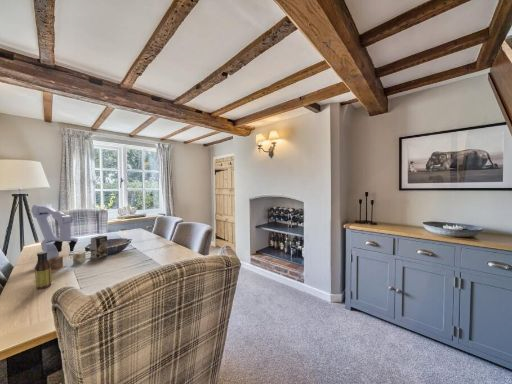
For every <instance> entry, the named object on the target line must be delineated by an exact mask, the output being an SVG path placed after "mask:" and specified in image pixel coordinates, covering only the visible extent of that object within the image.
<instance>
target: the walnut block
mask: <svg viewBox="0 0 512 384" xmlns="http://www.w3.org/2000/svg"><path fill="white" fill-rule="evenodd" d="M48 260H49V262H50V267H51V270H53V269H59V268H61V267H63V262H64V261H63V260H64V259H63V256H60V255H59V257H53V258H50V259H48Z"/></svg>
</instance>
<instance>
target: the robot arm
mask: <svg viewBox="0 0 512 384" xmlns="http://www.w3.org/2000/svg"><path fill="white" fill-rule="evenodd" d="M31 214H32V216H33V217H34V218H35V219H36V220H37V221H36V222H37V223H38V227H39V229H40V231H41V234H42V236H43V238H44V239H43V240H42V241H41V243H40V245H41V251H42V252H45V251H46V252H47V260H48V259H50V258H53V257H60V252H62V251H63V249H62V247H63V242H68V245H69V252H70V253H72V252H74V250H75V246H76V244H77V242H78V240H79V238H78V237H77V238H76V237H71V236H72V232H71V231H72V230H71V227H72V224H71V223H73V220H74V219H73V216H72V215H71V214H65V213H64V212H63V211H61V210H56V209H55V208H54V207H53V205H52V204H51V203H46V204H33V205H32V207H31ZM50 215H51V217H52V218H53V219H55V220H56V221H57V223H58V227H59V237H57V236H54V233H53V230H52V227H51V226H50V223H49V221H48V217H50ZM48 261H49V260H48Z"/></svg>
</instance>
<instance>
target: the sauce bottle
mask: <svg viewBox="0 0 512 384" xmlns="http://www.w3.org/2000/svg"><path fill="white" fill-rule="evenodd" d="M36 256H37V262H36V265H35V267H34V273H35V274H34V275H35V277H34V278H35V288H36V289H38V290H40V289H41V290H43V289H46V288H48V287H49V288H50V287H51V285H52V272H51V267H50V262H49V261H48V260H47V252H46V251H45V252H43V251H40V252H37V253H36Z"/></svg>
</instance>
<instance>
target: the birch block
mask: <svg viewBox="0 0 512 384" xmlns="http://www.w3.org/2000/svg"><path fill="white" fill-rule="evenodd" d="M72 260H73V264H81V263H83V262H85V260H86V251H76V252H75V253H73V254H72Z"/></svg>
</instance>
